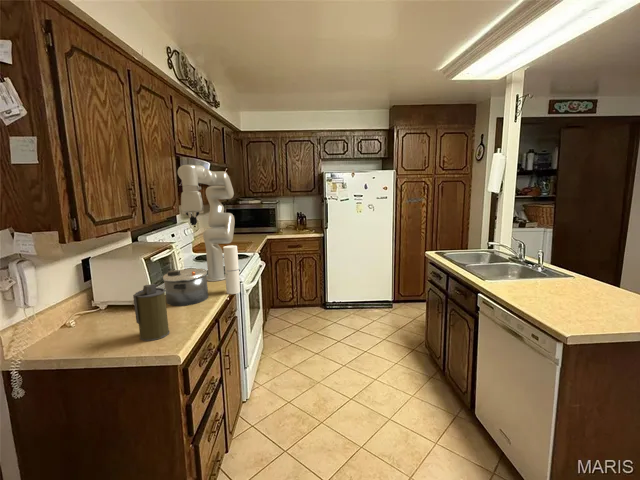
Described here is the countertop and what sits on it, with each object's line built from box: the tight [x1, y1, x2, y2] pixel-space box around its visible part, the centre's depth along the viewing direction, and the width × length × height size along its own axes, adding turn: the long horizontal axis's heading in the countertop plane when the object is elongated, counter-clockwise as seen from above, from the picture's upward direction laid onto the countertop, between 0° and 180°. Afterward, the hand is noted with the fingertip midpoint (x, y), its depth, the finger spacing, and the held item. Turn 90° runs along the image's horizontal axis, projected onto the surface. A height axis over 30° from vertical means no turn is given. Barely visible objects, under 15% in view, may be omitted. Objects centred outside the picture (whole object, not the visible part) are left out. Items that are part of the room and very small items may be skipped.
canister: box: [133, 283, 170, 342], centre depth 127 cm, size 11×10×20 cm
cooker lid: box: [162, 268, 208, 282], centre depth 168 cm, size 21×21×3 cm
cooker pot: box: [163, 274, 209, 307], centre depth 169 cm, size 24×20×12 cm
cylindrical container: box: [222, 245, 241, 295], centre depth 178 cm, size 7×7×25 cm
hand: (193, 224), depth 174 cm, fingers closed
